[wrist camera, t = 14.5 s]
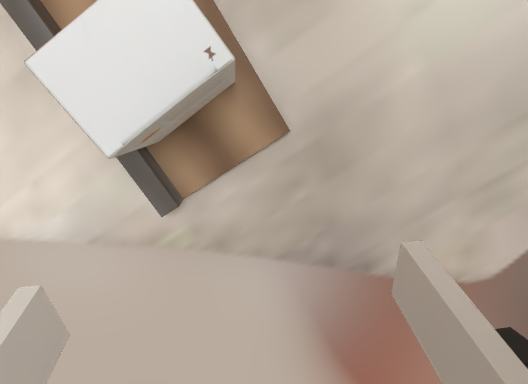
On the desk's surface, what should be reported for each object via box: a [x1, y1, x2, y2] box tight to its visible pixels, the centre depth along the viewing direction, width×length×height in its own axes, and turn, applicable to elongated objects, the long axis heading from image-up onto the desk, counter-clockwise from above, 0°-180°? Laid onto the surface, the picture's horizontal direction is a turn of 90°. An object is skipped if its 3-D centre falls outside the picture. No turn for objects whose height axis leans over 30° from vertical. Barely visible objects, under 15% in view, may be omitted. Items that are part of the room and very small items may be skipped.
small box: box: [24, 0, 235, 159], centre depth 19 cm, size 8×6×10 cm
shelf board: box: [0, 0, 290, 217], centre depth 23 cm, size 12×22×4 cm, turn 32°
